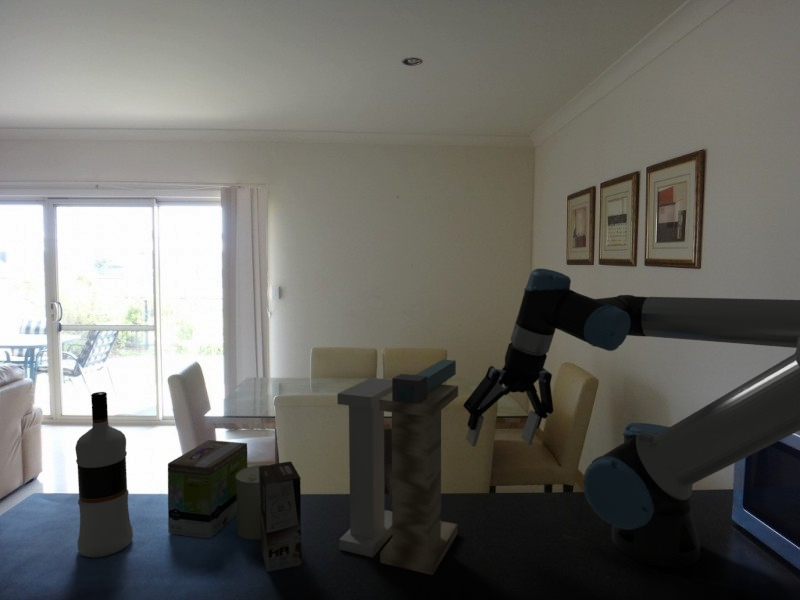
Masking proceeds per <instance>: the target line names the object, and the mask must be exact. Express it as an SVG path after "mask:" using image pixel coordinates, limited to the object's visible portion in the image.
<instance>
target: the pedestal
mask: <svg viewBox="0 0 800 600" xmlns="http://www.w3.org/2000/svg"><path fill="white" fill-rule="evenodd" d="M458 397H459V385H451V384H443V383H442V384H441V385H440V386H438V387H437V388H435V389H434V390H432V391H431V392H429V393H428V394H427V399H425V400H424V401H423V402H421V403H420V404H415V403H406V402H396V401H392V393H390V394H388V395H387V396H385V397H383V398H381V399H380V400H379V411H384V412H385V413H386V412H387V413H391V495H392V496H391V501H392V502H391V509H392V510H391V511H392V535H391V538H390V539H389V541H388V542H387V543H386V545H385V546H384V547H383V549H382V548H381V550H380V551H379V553H380V554H379V555H380V557H379V558H380V560H379V561H380V563H381V564H384V565H389V566H393V567H397V568H401V569H405V570H409V571H414V572H417V573H422V574H426V575H431V576H433V575H434V574H435V573H436V571H437V569H438V567H439V566H440V564H441V562H442V560H443V559H444V557H445V555H446V554H447V552H448V550H449V549H450V547H451V545H452V544H453V543H454V540H456V537H457V536H458V524H457V523H453V522H447V521H443V520H442V410H443V409H444V408H446V407H447V406H448V405H449V404H450V403H452V402H453V401H454V400H455V399H457V398H458Z"/></svg>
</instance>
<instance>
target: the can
mask: <svg viewBox="0 0 800 600" xmlns="http://www.w3.org/2000/svg"><path fill="white" fill-rule="evenodd" d="M267 465H268V464H258V465H257V464H256V465H253V466H248V468H245V469H242V470H241V471H239V472H238V473H237V474H236V489H237V515H236V517H237V518H236V519H237V521H236V522H237V523H236V527H237V528H236V532H237V536H239V537H241V538H242V539H246V540H261V529H260V498H259V467H260V466H267Z"/></svg>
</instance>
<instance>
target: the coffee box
mask: <svg viewBox="0 0 800 600" xmlns="http://www.w3.org/2000/svg"><path fill="white" fill-rule="evenodd" d="M266 465H267V466H260V467H259V498H260V529H261V539H260V549H261V550H260V551H261V554H262V557H263V561H264V565H265V570H266V571H267V573H270V572H273V571H274V572H275V571H278V570H279V571H280V570H284V569H288V568H293V567H298V566H301V565H302V514H301V513H302V512H301V511H302V509H301V508H302V505H301V503H302V501H301V500H302V497H301V492H302V490H301V476H300V474H299V472H298V471H297V469H296V468H295V466H294V464H293V462H292V461H285V462H279V463H278V462H277V463H273V464H266Z"/></svg>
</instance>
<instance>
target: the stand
mask: <svg viewBox="0 0 800 600" xmlns="http://www.w3.org/2000/svg"><path fill="white" fill-rule="evenodd" d="M390 393H392V379H388V378H387V379H385V378H375V377H369V378H368V379H366V380H363V381H362V382H359V383H357V384H355V385H353V386H350V387H348V388H346V389H344V390H343V391H340V392H338V393H337V394H336V395H337V405H341V406H342V405H343V406H348V439H349V440H348V447H349V449H348V450H349V451H348V453H349V455H348V456H349V457H348V458H349V459H348V460H349V529H348V530H347V531H346V532H345V533H344V534H343V535H342V536H341V537H340V538H339V539H338V540H339V542H338V543H339V546H338V547H339V550H340V551H343V552H349V553H353V554H356V555H361V556H365V557H368V558H369V557H370V558H374V557H375V556H376V554H377V553H378V552H380V550H381V549H382V547H383V546H384V545H385V544H386V542H387V541H388V540H390V539H391V537H392V510H386V508H385V411H379V400H380V399H381V398H383V397H385V396H387V395H388V394H390Z"/></svg>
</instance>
